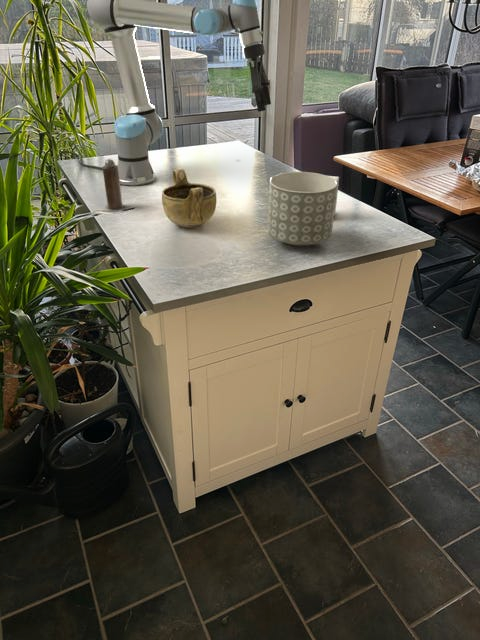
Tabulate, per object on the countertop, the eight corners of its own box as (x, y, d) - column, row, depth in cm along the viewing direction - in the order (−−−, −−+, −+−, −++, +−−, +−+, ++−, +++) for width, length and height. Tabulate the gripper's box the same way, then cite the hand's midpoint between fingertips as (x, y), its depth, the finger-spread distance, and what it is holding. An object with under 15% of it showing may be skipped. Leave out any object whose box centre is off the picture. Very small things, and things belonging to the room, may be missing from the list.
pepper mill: (105, 207, 175) (98, 159, 166) (117, 203, 177) (112, 156, 169) (112, 210, 171) (106, 162, 163) (125, 207, 174) (119, 159, 165)
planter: (272, 226, 161) (275, 169, 151) (332, 231, 158) (338, 174, 148) (262, 251, 145) (264, 189, 136) (328, 257, 142) (335, 194, 133)
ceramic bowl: (156, 215, 168) (152, 170, 160) (204, 209, 174) (203, 165, 166) (173, 240, 151) (170, 191, 143) (227, 233, 156) (226, 185, 148)
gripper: (256, 44, 166) (269, 111, 177) (268, 39, 187) (279, 100, 197) (235, 49, 169) (249, 116, 179) (248, 45, 189) (260, 104, 199)
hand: (264, 107), depth 188 cm, fingers open, 13 cm apart
